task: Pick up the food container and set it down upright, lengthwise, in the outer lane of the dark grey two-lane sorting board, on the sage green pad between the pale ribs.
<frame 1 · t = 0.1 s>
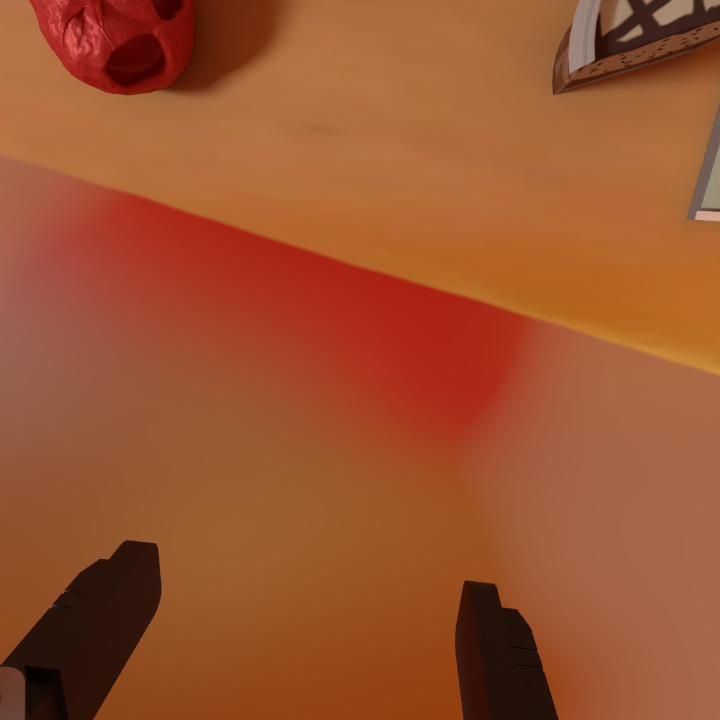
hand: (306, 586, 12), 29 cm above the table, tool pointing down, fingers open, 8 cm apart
food container: (616, 24, 32), on the table
pomegranate: (144, 28, 35), on the table
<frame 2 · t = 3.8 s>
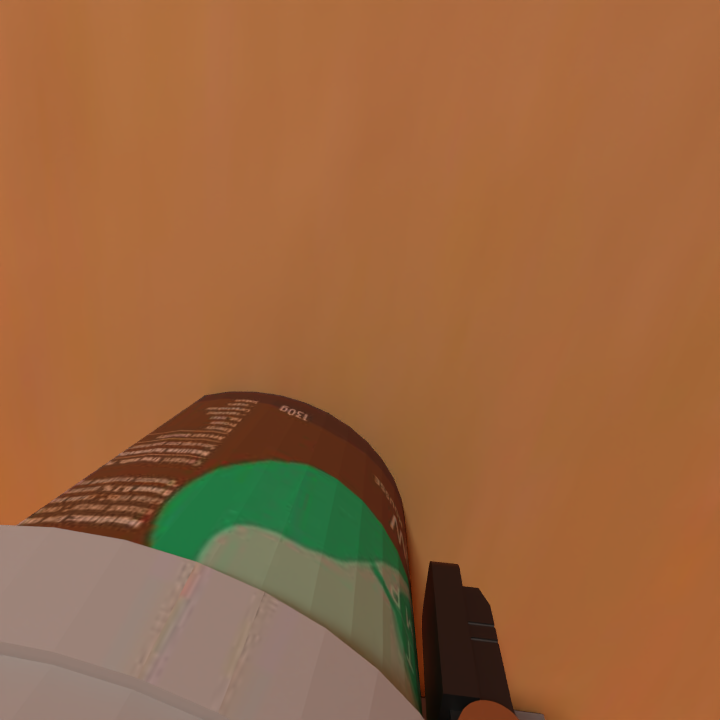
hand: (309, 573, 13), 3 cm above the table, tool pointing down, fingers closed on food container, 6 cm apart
food container: (344, 503, 15), on the table, touching gripper
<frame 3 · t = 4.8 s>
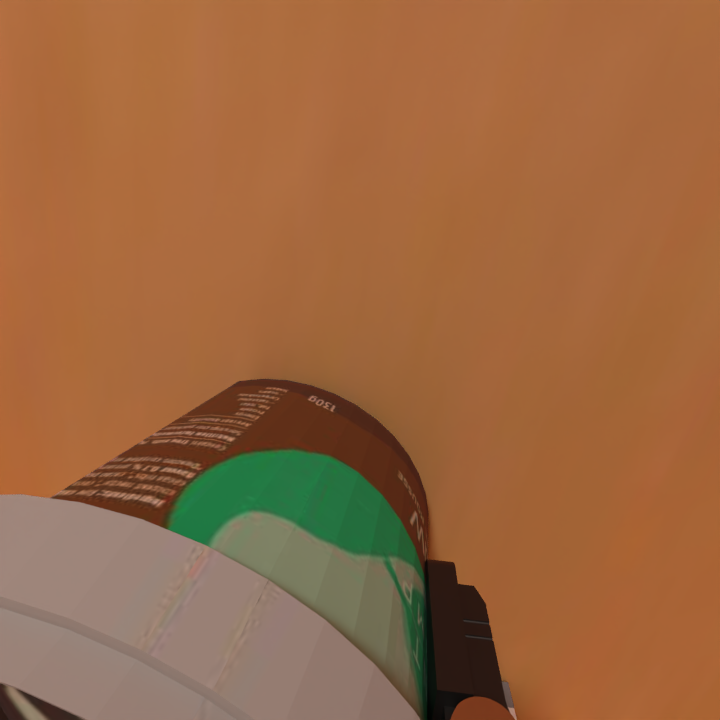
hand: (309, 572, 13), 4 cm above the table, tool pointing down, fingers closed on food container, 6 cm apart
food container: (369, 495, 16), point 1 cm above the table, touching gripper
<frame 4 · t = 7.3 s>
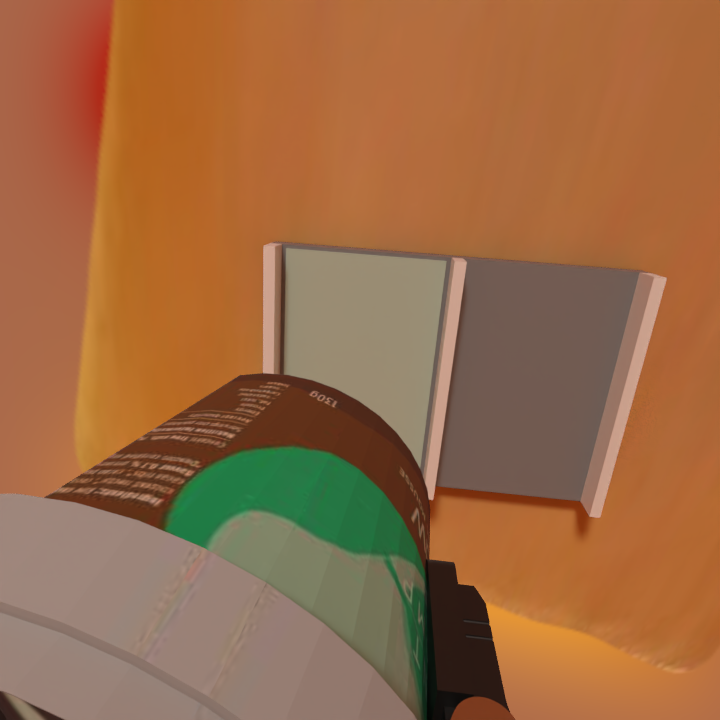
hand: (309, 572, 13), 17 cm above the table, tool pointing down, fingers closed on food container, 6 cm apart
food container: (370, 490, 16), point 14 cm above the table, touching gripper
sorting board: (439, 374, 28), on the table
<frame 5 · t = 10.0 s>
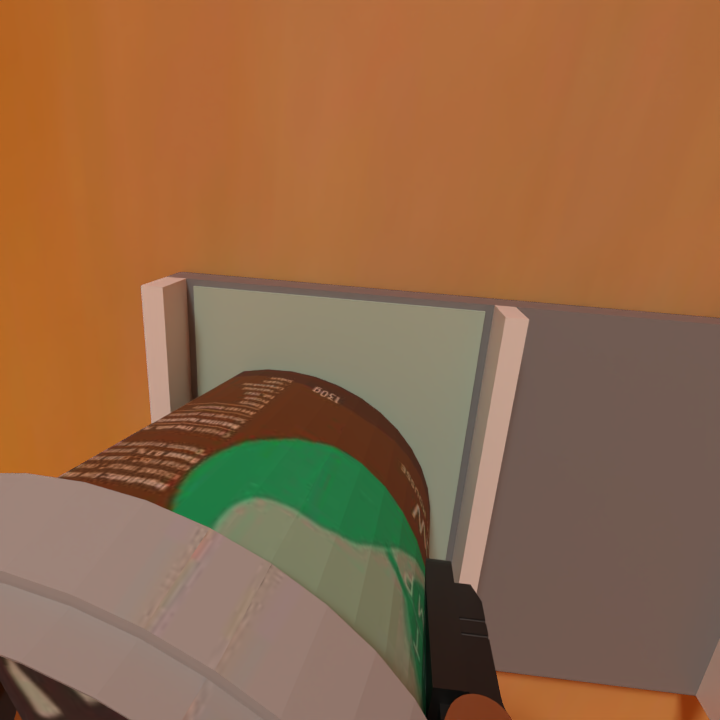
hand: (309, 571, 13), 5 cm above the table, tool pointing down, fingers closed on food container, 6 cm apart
food container: (371, 488, 16), point 1 cm above the table, touching gripper, sorting board
sorting board: (465, 493, 17), on the table
when the fingers open (5 cm above the table, at t = 10.3 s): food container stays where it is, resting on sorting board.
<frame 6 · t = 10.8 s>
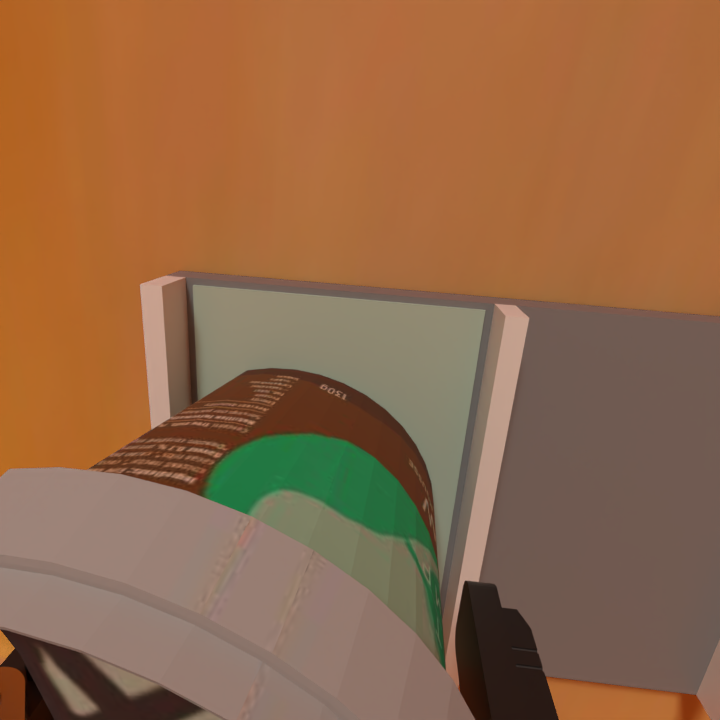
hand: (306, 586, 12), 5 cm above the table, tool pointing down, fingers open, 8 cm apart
food container: (374, 485, 16), point 1 cm above the table, touching gripper, sorting board
sorting board: (465, 492, 17), on the table
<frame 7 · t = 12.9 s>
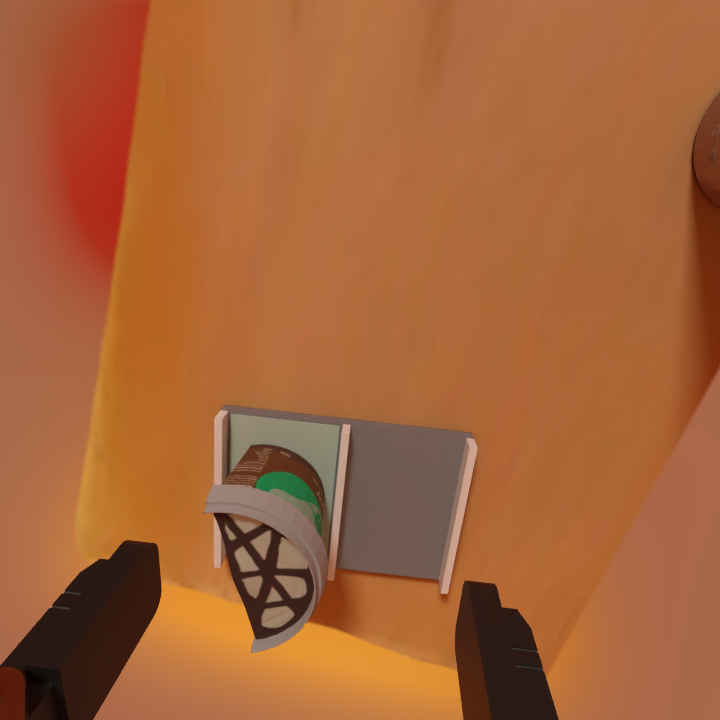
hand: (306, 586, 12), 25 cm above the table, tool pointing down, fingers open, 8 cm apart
food container: (301, 488, 40), point 1 cm above the table, touching sorting board
sorting board: (340, 493, 41), on the table
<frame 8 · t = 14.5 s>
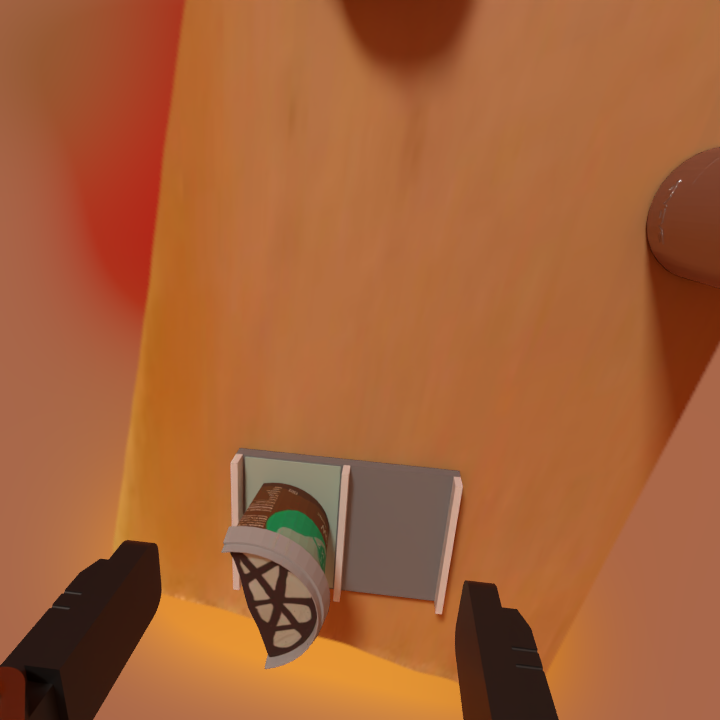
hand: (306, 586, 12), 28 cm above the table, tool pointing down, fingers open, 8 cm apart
food container: (308, 520, 45), point 1 cm above the table, touching sorting board
sorting board: (343, 523, 45), on the table
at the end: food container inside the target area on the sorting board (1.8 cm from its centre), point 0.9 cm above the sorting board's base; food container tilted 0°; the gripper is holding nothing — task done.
